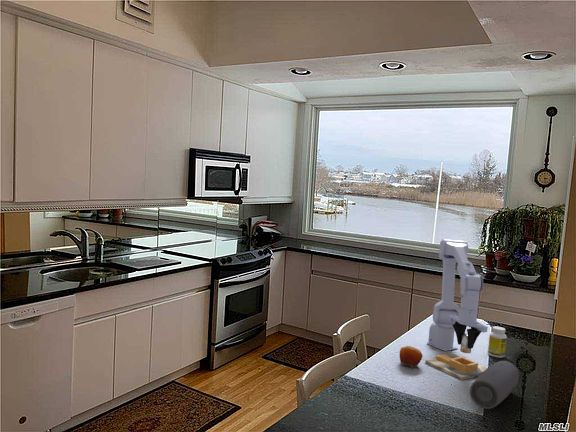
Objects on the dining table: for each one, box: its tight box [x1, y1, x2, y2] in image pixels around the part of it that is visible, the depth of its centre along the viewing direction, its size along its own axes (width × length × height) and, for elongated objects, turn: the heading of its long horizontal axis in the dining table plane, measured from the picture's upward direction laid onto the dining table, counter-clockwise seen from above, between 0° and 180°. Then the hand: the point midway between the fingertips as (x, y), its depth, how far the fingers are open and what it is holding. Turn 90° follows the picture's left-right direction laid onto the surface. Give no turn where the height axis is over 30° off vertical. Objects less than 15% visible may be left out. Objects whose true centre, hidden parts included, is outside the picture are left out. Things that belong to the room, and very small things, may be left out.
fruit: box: [399, 345, 424, 370], centre depth 171 cm, size 8×8×8 cm
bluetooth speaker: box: [469, 360, 520, 410], centre depth 147 cm, size 23×9×10 cm, turn 141°
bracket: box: [435, 353, 479, 373], centre depth 172 cm, size 14×7×3 cm, turn 33°
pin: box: [459, 332, 472, 354], centre depth 168 cm, size 4×4×6 cm
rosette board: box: [424, 353, 488, 381], centre depth 172 cm, size 17×16×1 cm
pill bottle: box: [487, 325, 507, 359], centre depth 187 cm, size 6×6×11 cm
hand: (465, 346), depth 168 cm, fingers closed on pin, 4 cm apart
